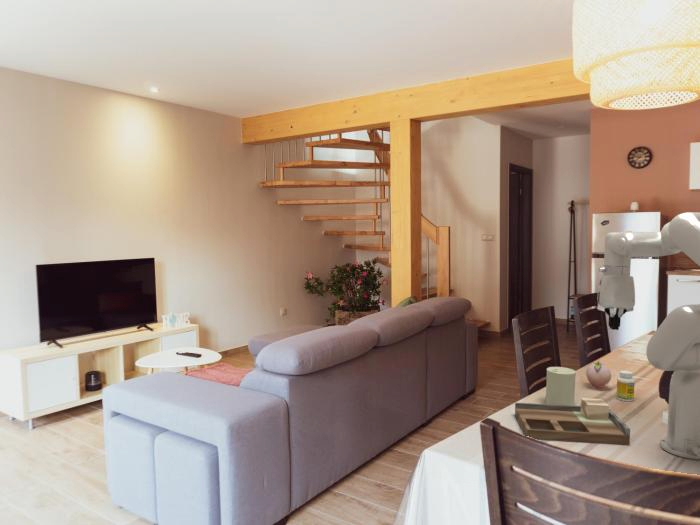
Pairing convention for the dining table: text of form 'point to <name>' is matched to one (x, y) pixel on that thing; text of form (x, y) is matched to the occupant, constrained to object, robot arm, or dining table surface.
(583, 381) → the dining table surface
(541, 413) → the brown wooden tray
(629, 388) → the supplement bottle
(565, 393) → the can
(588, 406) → the block
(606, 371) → the decorative fruit
